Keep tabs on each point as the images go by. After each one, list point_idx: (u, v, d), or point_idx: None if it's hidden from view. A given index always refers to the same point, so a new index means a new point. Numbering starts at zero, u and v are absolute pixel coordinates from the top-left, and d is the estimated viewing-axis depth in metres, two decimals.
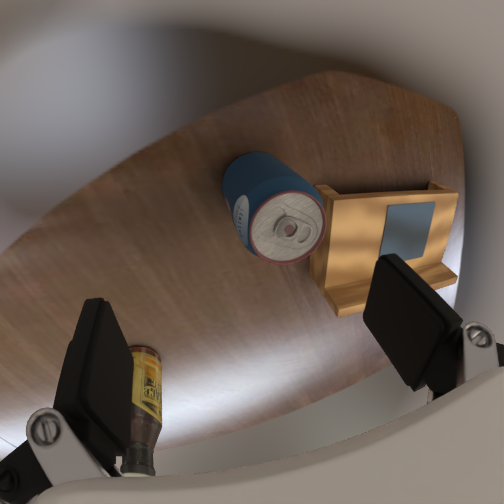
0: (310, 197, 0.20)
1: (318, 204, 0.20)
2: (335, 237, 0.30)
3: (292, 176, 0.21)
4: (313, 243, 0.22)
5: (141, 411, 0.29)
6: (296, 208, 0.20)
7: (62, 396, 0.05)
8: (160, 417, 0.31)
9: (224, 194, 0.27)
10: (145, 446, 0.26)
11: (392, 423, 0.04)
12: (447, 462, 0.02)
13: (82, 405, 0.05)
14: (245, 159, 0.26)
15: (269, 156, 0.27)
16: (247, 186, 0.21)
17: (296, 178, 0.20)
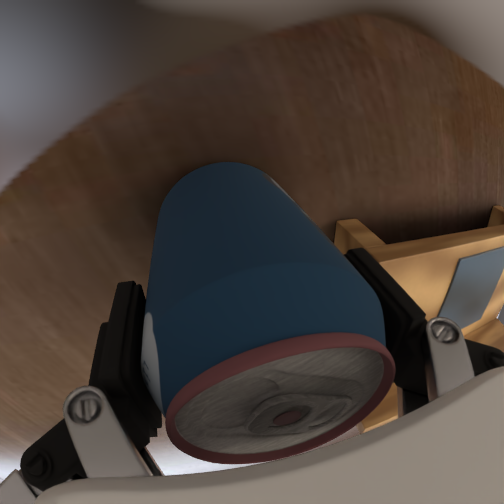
0: (364, 346, 0.05)
1: (383, 355, 0.06)
2: None
3: (306, 261, 0.06)
4: (347, 417, 0.07)
5: None
6: (314, 375, 0.06)
7: (103, 372, 0.06)
8: None
9: None
10: None
11: (391, 423, 0.04)
12: (447, 462, 0.02)
13: (123, 380, 0.06)
14: (193, 182, 0.12)
15: (248, 172, 0.12)
16: (164, 284, 0.07)
17: (320, 269, 0.06)
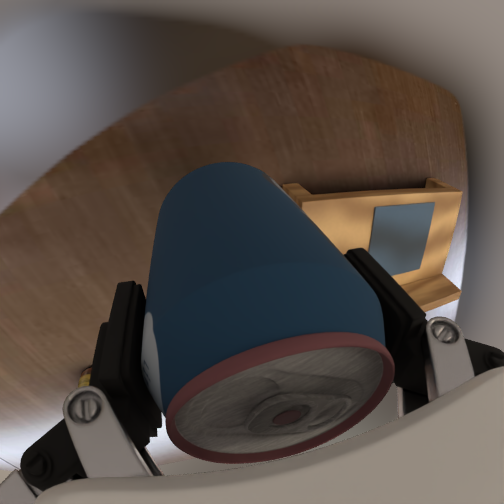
0: (363, 345, 0.05)
1: (383, 355, 0.06)
2: None
3: (306, 261, 0.06)
4: (346, 416, 0.07)
5: None
6: (314, 374, 0.06)
7: (103, 372, 0.06)
8: None
9: None
10: None
11: (392, 424, 0.04)
12: (447, 462, 0.02)
13: (123, 380, 0.06)
14: (193, 182, 0.12)
15: (248, 172, 0.12)
16: (164, 284, 0.07)
17: (319, 269, 0.06)
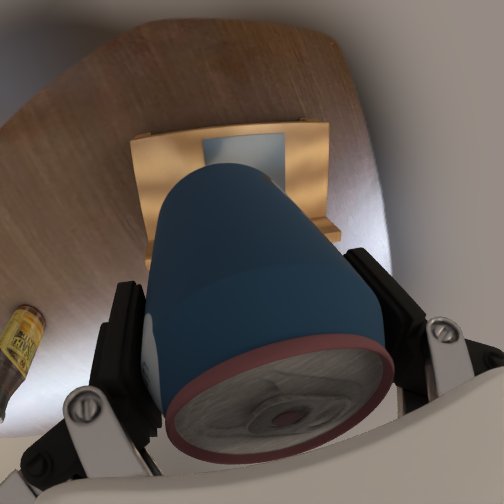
0: (363, 347, 0.05)
1: (383, 356, 0.06)
2: (141, 181, 0.27)
3: (305, 262, 0.06)
4: (346, 417, 0.07)
5: (3, 355, 0.26)
6: (313, 376, 0.06)
7: (103, 372, 0.06)
8: (21, 366, 0.27)
9: None
10: None
11: (391, 423, 0.04)
12: (447, 462, 0.02)
13: (123, 381, 0.06)
14: (193, 182, 0.12)
15: (248, 173, 0.12)
16: (164, 285, 0.07)
17: (319, 270, 0.06)
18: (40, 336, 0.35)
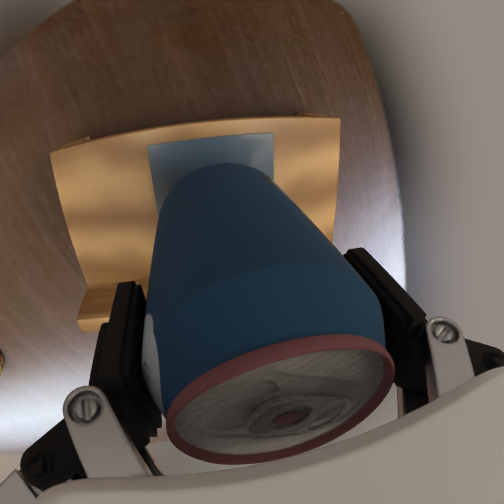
0: (364, 347, 0.05)
1: (383, 357, 0.06)
2: (69, 208, 0.17)
3: (306, 263, 0.06)
4: (346, 418, 0.07)
5: None
6: (314, 376, 0.06)
7: (103, 372, 0.06)
8: None
9: None
10: None
11: (392, 423, 0.04)
12: (447, 462, 0.02)
13: (123, 381, 0.06)
14: (193, 183, 0.12)
15: (248, 173, 0.12)
16: (164, 286, 0.07)
17: (320, 271, 0.06)
18: None
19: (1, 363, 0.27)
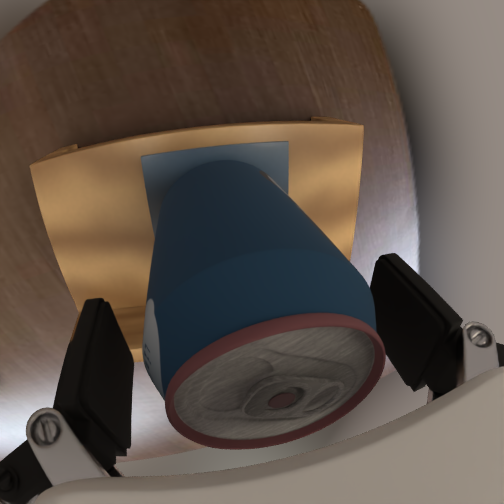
0: (353, 327, 0.06)
1: (373, 338, 0.06)
2: (53, 228, 0.15)
3: (298, 248, 0.07)
4: (341, 403, 0.08)
5: None
6: (307, 356, 0.06)
7: (62, 396, 0.05)
8: None
9: None
10: None
11: (391, 423, 0.04)
12: (447, 462, 0.02)
13: (82, 405, 0.05)
14: (193, 178, 0.12)
15: (246, 169, 0.12)
16: (165, 272, 0.07)
17: (310, 255, 0.06)
18: None
19: None
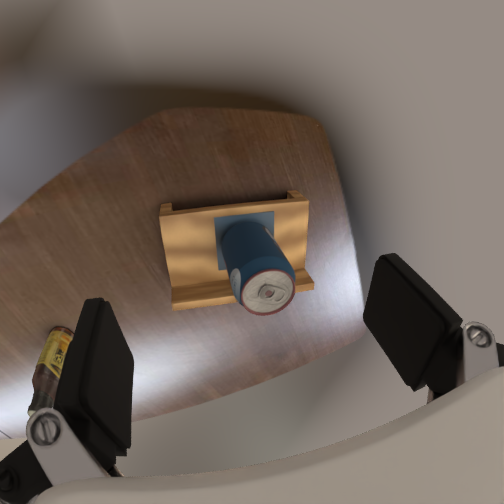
0: (283, 272, 0.29)
1: (289, 276, 0.29)
2: (168, 245, 0.38)
3: (271, 256, 0.30)
4: (286, 300, 0.31)
5: (48, 370, 0.36)
6: (273, 280, 0.30)
7: (62, 396, 0.05)
8: None
9: (223, 256, 0.37)
10: (46, 395, 0.33)
11: (391, 423, 0.04)
12: (447, 462, 0.02)
13: (82, 405, 0.05)
14: (239, 231, 0.36)
15: (257, 227, 0.36)
16: (240, 261, 0.31)
17: (274, 257, 0.30)
18: None
19: None
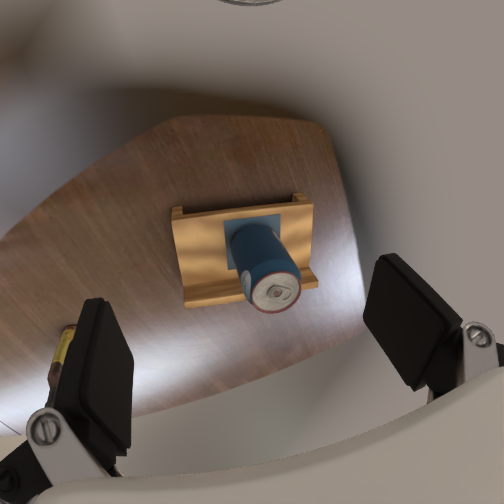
0: (290, 274, 0.31)
1: (295, 278, 0.32)
2: (180, 247, 0.40)
3: (279, 258, 0.32)
4: (293, 299, 0.34)
5: None
6: (281, 281, 0.32)
7: (62, 396, 0.05)
8: None
9: (233, 257, 0.39)
10: None
11: (392, 424, 0.04)
12: (447, 462, 0.02)
13: (82, 405, 0.05)
14: (247, 234, 0.38)
15: (265, 230, 0.38)
16: (249, 264, 0.33)
17: (282, 260, 0.32)
18: None
19: None
